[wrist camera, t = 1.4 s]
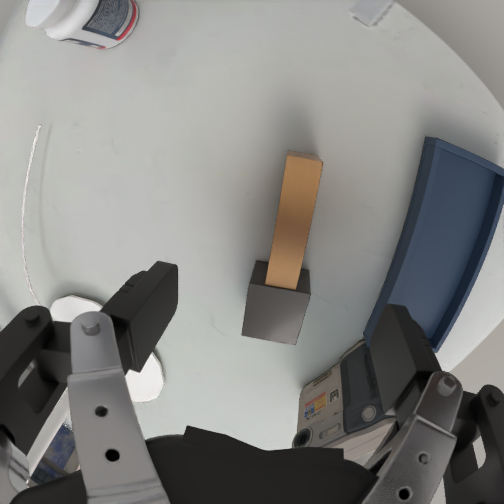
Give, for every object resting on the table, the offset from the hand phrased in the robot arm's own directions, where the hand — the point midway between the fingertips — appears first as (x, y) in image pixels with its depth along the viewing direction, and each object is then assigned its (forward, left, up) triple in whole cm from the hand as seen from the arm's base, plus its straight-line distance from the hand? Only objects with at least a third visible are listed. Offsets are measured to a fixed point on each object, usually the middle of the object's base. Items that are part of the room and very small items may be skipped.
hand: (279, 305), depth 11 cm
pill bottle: (-15, -17, -12) cm, 25 cm away
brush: (+3, 0, -12) cm, 12 cm away
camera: (+16, +9, -12) cm, 22 cm away
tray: (+1, +13, -12) cm, 18 cm away
